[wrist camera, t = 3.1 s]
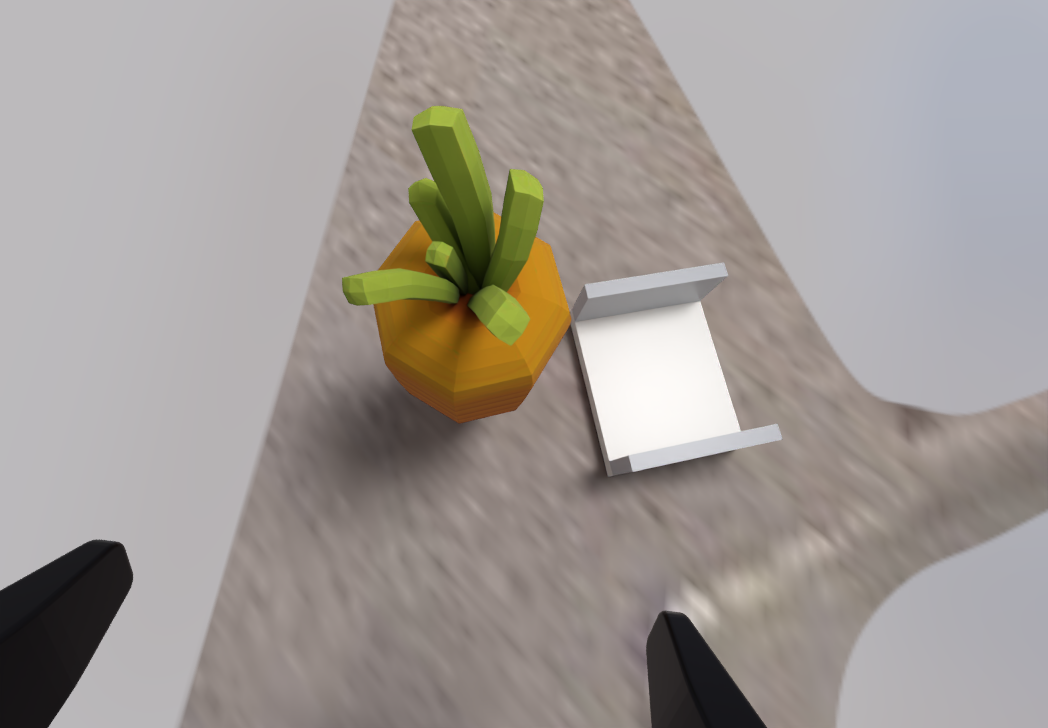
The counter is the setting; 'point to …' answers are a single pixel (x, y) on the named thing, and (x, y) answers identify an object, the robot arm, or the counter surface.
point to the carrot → (466, 283)
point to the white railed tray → (656, 371)
